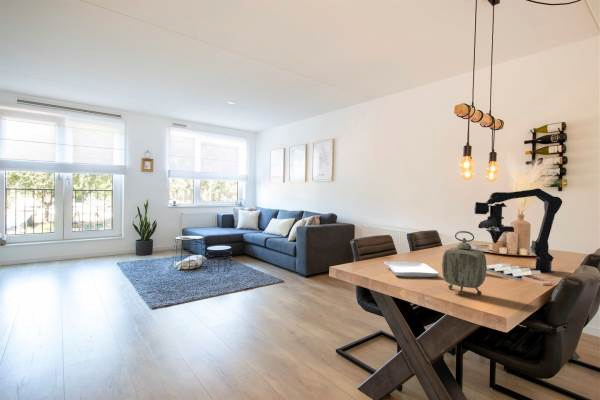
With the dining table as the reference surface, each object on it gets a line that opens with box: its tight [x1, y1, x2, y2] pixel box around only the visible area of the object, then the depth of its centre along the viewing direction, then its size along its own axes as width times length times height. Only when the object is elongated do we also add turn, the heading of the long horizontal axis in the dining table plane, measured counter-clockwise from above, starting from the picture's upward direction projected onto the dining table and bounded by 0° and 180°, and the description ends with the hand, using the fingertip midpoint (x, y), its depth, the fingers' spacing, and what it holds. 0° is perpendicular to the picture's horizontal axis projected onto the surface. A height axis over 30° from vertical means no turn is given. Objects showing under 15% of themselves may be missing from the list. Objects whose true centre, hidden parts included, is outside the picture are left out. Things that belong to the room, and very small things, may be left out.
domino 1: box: [486, 263, 511, 269], centre depth 160 cm, size 5×2×10 cm
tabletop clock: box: [441, 230, 488, 296], centre depth 123 cm, size 14×9×25 cm, turn 48°
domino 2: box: [494, 265, 520, 271], centre depth 155 cm, size 5×2×10 cm
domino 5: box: [522, 275, 553, 287], centre depth 140 cm, size 5×2×10 cm
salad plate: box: [383, 261, 439, 278], centre depth 155 cm, size 21×21×3 cm
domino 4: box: [512, 270, 542, 277], centre depth 144 cm, size 5×2×10 cm
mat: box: [486, 269, 524, 281], centre depth 156 cm, size 12×26×1 cm, turn 12°
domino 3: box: [504, 267, 531, 274], centre depth 149 cm, size 5×2×10 cm
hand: (494, 243), depth 171 cm, fingers closed
